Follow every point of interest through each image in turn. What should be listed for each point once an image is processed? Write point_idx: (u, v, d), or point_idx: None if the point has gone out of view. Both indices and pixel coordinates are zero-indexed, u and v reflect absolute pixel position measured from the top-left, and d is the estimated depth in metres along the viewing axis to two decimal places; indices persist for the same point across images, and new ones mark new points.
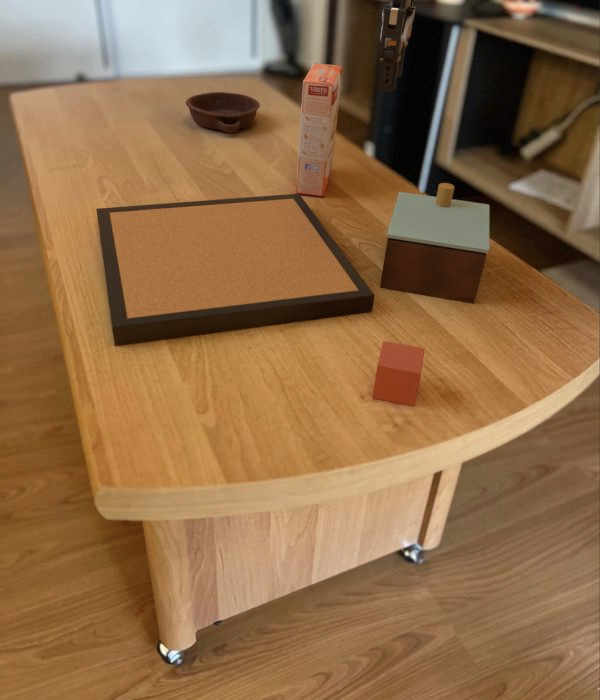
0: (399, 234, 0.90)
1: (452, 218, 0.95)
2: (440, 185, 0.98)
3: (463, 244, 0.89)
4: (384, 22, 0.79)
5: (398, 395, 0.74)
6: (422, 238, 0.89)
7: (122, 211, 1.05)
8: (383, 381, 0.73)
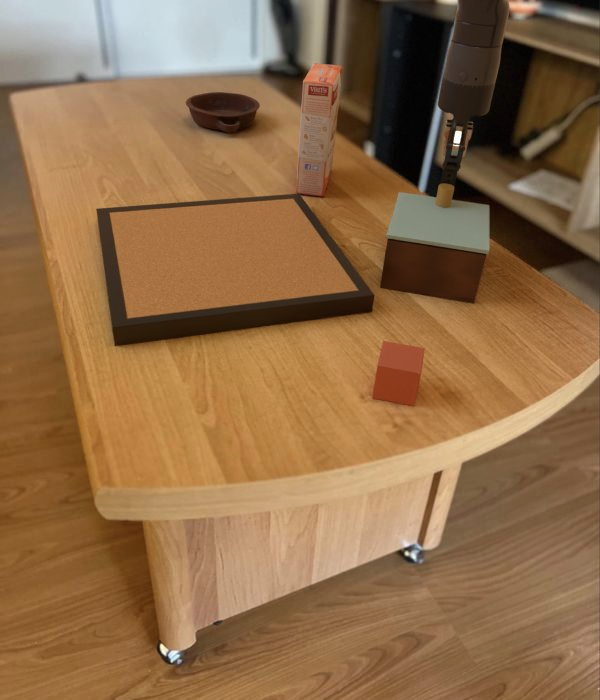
0: (399, 235, 0.90)
1: (452, 218, 0.95)
2: (440, 185, 0.97)
3: (463, 244, 0.89)
4: (446, 155, 0.92)
5: (398, 395, 0.74)
6: (422, 239, 0.89)
7: (122, 211, 1.05)
8: (383, 381, 0.73)
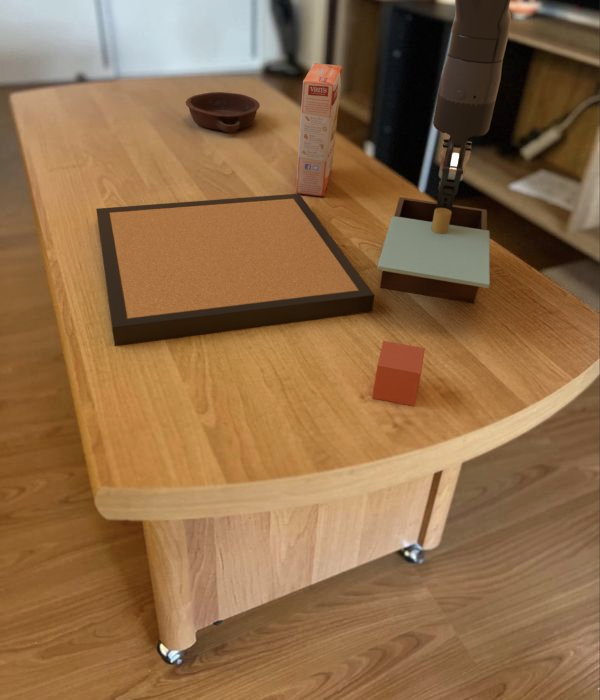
0: (391, 266, 0.82)
1: (449, 246, 0.88)
2: (436, 210, 0.90)
3: (460, 277, 0.81)
4: (443, 178, 0.85)
5: (398, 395, 0.74)
6: (416, 271, 0.82)
7: (122, 211, 1.05)
8: (383, 381, 0.73)
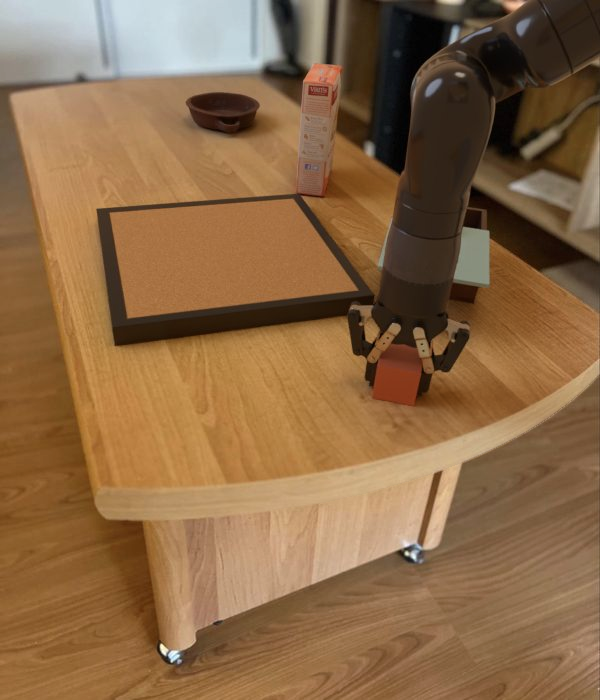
0: None
1: None
2: None
3: (460, 277, 0.81)
4: None
5: (398, 395, 0.74)
6: None
7: (122, 211, 1.05)
8: (383, 381, 0.73)
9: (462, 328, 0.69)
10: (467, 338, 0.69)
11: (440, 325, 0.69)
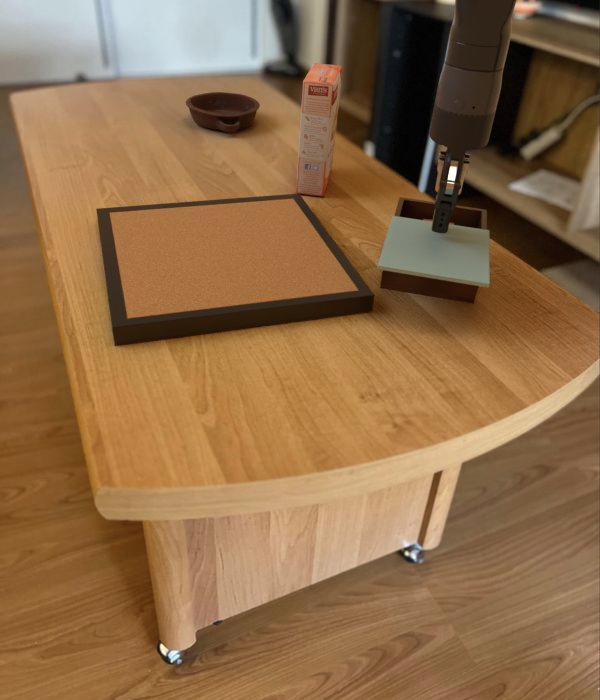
0: (391, 266, 0.82)
1: (449, 246, 0.88)
2: None
3: (460, 277, 0.81)
4: (440, 193, 0.80)
5: None
6: (416, 270, 0.82)
7: (122, 211, 1.05)
8: None
9: None
10: None
11: None
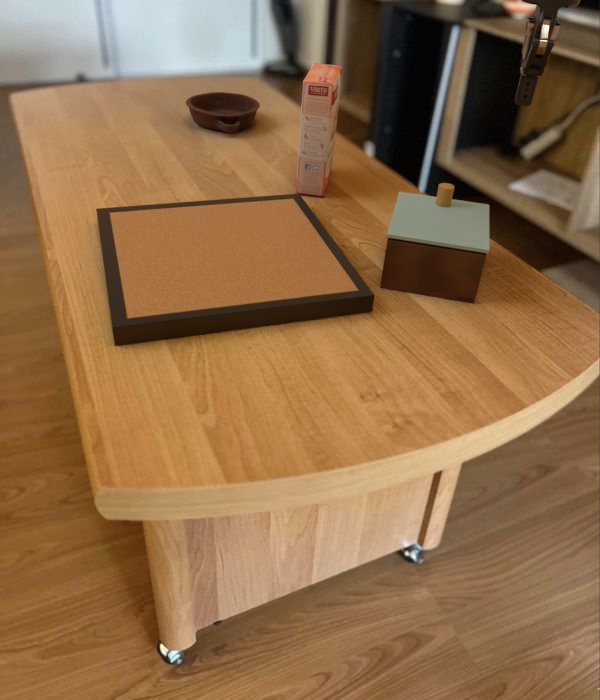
0: (399, 234, 0.90)
1: (452, 218, 0.95)
2: (440, 185, 0.98)
3: (463, 244, 0.89)
4: (531, 53, 0.80)
5: None
6: (422, 238, 0.89)
7: (122, 211, 1.05)
8: None
9: None
10: None
11: None
